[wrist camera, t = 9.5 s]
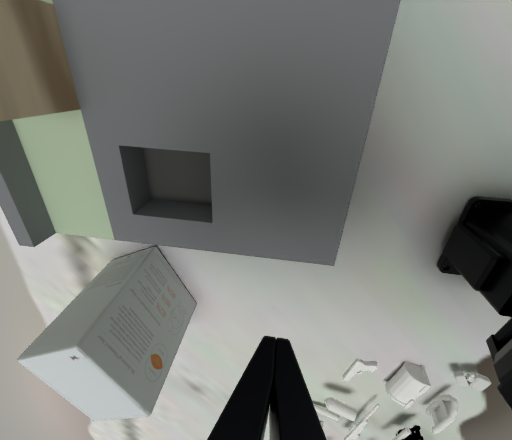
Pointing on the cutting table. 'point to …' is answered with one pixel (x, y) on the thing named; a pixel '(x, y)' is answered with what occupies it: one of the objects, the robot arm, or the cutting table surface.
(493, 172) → the cutting table surface
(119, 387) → the small box
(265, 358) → the robot arm
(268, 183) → the board
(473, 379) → the miniature set
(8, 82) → the maple block
